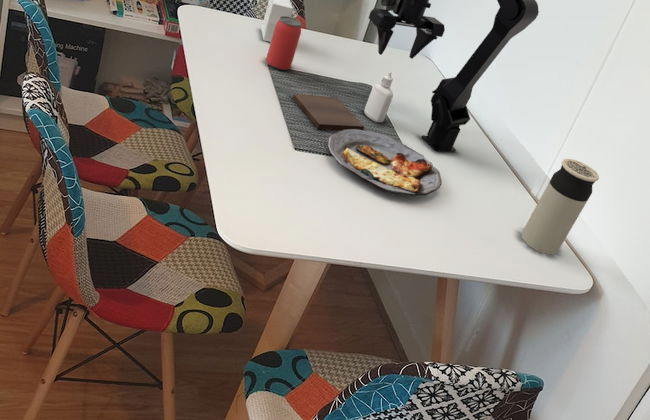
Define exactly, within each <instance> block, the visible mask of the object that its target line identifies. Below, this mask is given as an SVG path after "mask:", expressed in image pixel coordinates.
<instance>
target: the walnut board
mask: <svg viewBox="0 0 650 420" xmlns="http://www.w3.org/2000/svg"><path fill="white" fill-rule="evenodd" d="M292 99H293V101H294V102H295V103H296V104H297V105H298V107H299V108H300V109H301V110H302V111H303V113H304V114H305V115H306V116H307V118H309V119H310V121H311V122H312V123H313V125H314V126H315V127H316V128H317V129H318V130H335V131H336V130H337V131H343V129H344V130H348V129H351V130H352V129H355V130H356V129H358V130H363V131H364V128H365V126H364V124H362V122H360V120H359V119H358V118H357V117H356V115H354V114H353V113H352V111H351V110H349V108H348V107H347V106H346V105H345V104H344V103H343V102H342V101H341V100H340V99H339V97H337V96H325V95H311V94H302V93H301V94H299V93H293V96H292Z"/></svg>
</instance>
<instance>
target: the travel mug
mask: <svg viewBox="0 0 650 420" xmlns="http://www.w3.org/2000/svg"><path fill="white" fill-rule="evenodd" d="M599 176H600V175H599V174H598V172H597V171H596V170H595V169H593V168H592V167H591V166H590V165H588V164H585V163H583V162H581V161H579V160H576V159H572V158H564V159H562V161H561V166H560V169H559V170H557V171H555V172H554V173H553V174H552V176H551V178H550V180H549V182H548V184H546V185H547V186H546V187H545V189H544V191H543V192H542V194H541V196H540V198H539V200H538V202H537V204H536V206H535V208H534V209H533V211H532V213H531V214H530V216H529V218H528V220H527V221H526V224H525V226H524V227H523V229H522V231H521V234H520V235H521V238H522V240H523V241H524V242H525V244H527V246H529V247H530V248H532V249H533V250H535V251H537V252H540V253H542V254H547V255H555V254H557V253H558V252H559V250H560V249H561V247H562V245H563V244H564V242H565V240H566V239H567V237H568V235H569V233H570V231H571V230H572V228H573V227H574V225H575V224H576V221H577V220H578V218H579V216H580V215H581V213H582V212H583V210H584V208H585V206H586V204H587V202H588V201H589V200H590V197H591V196H592V194H593V185H594V184H595V183H596V182H597V181H599V179H600V177H599Z"/></svg>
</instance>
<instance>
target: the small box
mask: <svg viewBox="0 0 650 420" xmlns="http://www.w3.org/2000/svg"><path fill="white" fill-rule="evenodd" d="M293 10H294V9H293V6H292V2H291V0H268V3H267V6H266V10H265V13H264V18H263V21H262V26H261V29H260V31H261V35H262V40H263V41H265V42H269V43H271V40H272V36H273V33H274V29H275V25H276V23H277V22H278V20H279V19H280V17H281V16H287V17H291V16H292V12H293ZM291 18H292V17H291Z"/></svg>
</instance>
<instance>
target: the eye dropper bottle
mask: <svg viewBox="0 0 650 420" xmlns="http://www.w3.org/2000/svg"><path fill="white" fill-rule="evenodd" d="M393 80H394V78H392V72H391V71H388V72H387V74H386V75H383V76H382V78H381V81H380V83H375V84H374V85H373V86H372V89H371V91H370V93H369V95H368V99H367V102H366V103H365V108H364V110H363V113H364V115H365V116H366V117H367V118H369V120H371V121H373V122H375V123H383V122H385V118H386V116H387V114H388V111H389V109H390V106H391V103H392V100H393V97H394V93H393V90H392V88H391V86H392V83H393V82H394V81H393Z"/></svg>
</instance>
